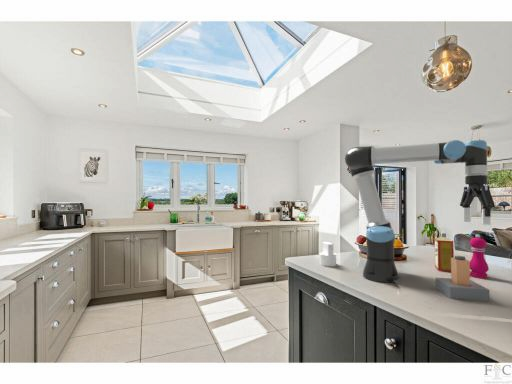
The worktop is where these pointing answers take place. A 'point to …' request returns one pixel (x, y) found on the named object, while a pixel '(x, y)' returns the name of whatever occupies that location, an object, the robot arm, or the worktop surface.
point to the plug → (460, 271)
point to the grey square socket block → (462, 290)
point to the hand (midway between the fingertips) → (475, 223)
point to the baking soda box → (443, 254)
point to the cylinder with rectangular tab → (328, 255)
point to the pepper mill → (478, 258)
